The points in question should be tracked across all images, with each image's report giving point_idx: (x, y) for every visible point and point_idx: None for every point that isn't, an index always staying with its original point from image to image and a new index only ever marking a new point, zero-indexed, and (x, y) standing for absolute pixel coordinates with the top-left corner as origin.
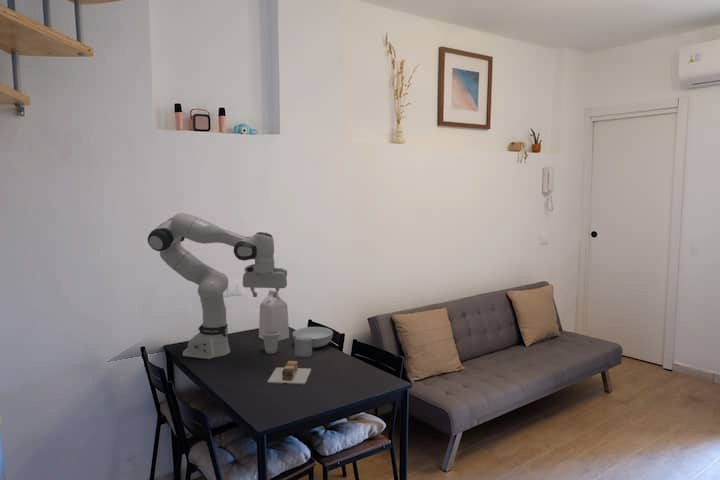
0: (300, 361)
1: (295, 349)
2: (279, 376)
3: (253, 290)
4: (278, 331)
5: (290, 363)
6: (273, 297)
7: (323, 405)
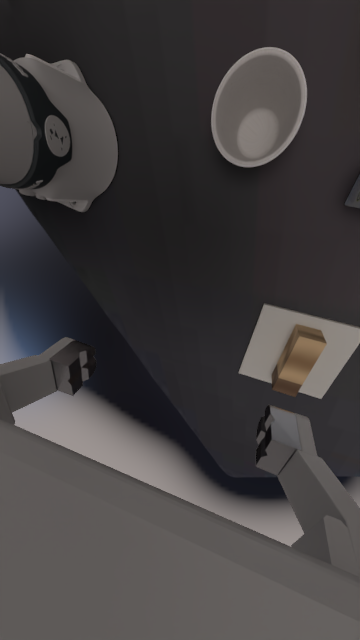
0: (352, 256)
1: (356, 207)
2: (266, 357)
3: (17, 390)
4: (301, 92)
5: (301, 354)
6: (260, 423)
7: (331, 466)
